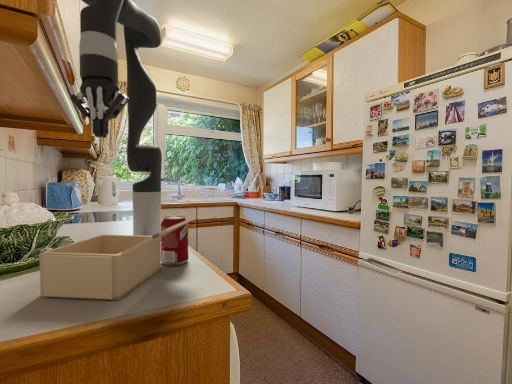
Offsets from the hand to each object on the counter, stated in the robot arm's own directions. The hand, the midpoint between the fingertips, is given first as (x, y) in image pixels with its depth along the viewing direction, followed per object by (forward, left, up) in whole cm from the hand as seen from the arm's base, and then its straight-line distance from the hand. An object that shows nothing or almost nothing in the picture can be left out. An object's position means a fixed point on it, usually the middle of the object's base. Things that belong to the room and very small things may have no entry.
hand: (100, 137), depth 62 cm
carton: (+7, +3, -31) cm, 32 cm away
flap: (+10, +10, -23) cm, 27 cm away
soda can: (-3, +16, -31) cm, 35 cm away
